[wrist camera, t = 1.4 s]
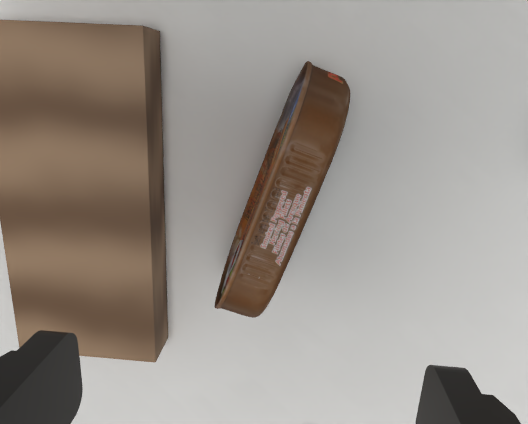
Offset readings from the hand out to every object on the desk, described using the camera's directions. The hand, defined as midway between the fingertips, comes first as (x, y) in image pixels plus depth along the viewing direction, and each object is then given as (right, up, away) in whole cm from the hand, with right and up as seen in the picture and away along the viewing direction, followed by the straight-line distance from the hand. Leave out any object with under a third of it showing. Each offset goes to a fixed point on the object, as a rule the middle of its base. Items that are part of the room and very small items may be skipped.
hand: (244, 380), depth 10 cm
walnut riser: (-11, +5, +20) cm, 24 cm away
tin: (+2, +6, +19) cm, 20 cm away
